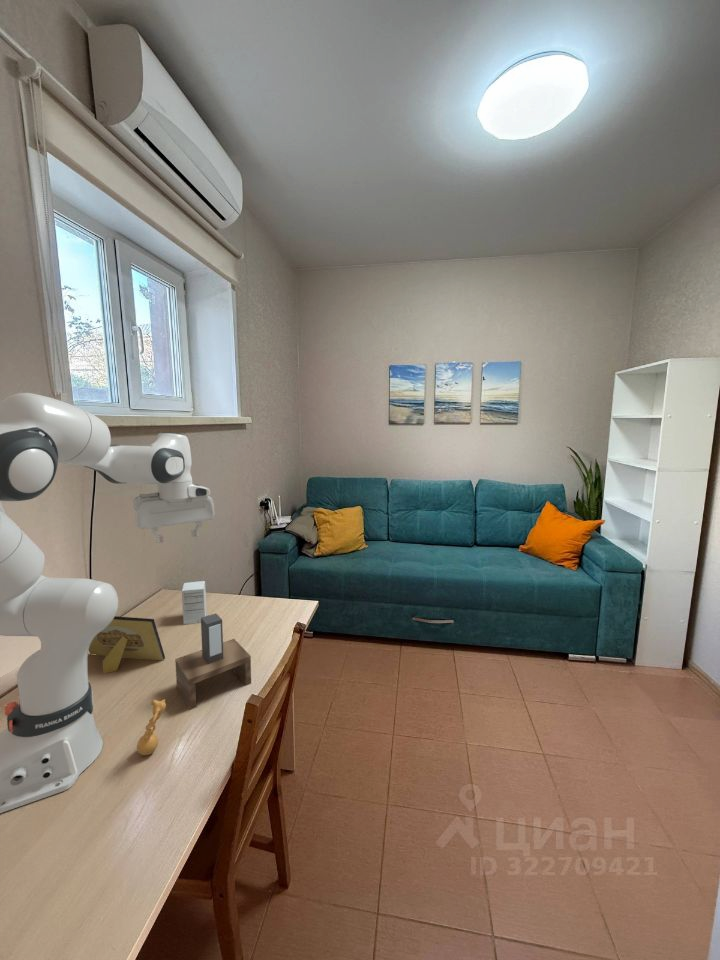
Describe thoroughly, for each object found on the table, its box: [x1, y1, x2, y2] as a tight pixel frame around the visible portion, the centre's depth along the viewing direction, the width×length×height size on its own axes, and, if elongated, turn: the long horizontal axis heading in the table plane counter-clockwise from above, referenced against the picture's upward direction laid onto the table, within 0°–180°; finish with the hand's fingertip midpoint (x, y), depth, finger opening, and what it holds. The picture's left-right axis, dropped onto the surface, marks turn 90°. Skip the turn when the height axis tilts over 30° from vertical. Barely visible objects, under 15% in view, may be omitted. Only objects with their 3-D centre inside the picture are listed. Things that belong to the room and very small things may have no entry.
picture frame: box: [88, 615, 166, 674], centre depth 112 cm, size 23×9×15 cm, turn 84°
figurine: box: [136, 699, 167, 756], centre depth 83 cm, size 8×6×12 cm
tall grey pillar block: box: [200, 613, 224, 664], centre depth 104 cm, size 4×5×11 cm
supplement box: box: [181, 580, 207, 625], centre depth 140 cm, size 7×7×13 cm
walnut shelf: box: [175, 638, 252, 710], centre depth 105 cm, size 16×11×8 cm
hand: (177, 539), depth 111 cm, fingers open, 8 cm apart
